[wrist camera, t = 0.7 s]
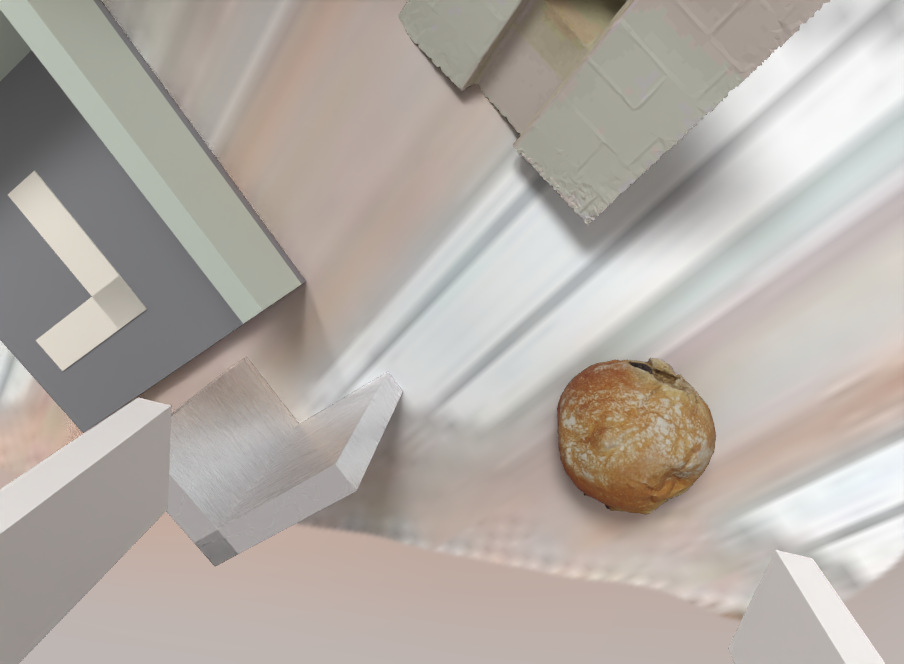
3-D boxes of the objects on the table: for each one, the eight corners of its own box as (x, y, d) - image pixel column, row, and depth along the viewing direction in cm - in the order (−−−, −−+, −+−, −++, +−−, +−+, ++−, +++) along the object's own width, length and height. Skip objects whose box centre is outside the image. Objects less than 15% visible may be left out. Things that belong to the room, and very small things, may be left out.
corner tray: (-126, 183, 40) (-251, 192, 33) (80, -28, 34) (-23, -66, 27) (90, 428, 44) (18, 477, 38) (306, 281, 38) (262, 310, 32)
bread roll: (696, 369, 41) (745, 362, 33) (686, 515, 40) (733, 544, 32) (557, 353, 42) (572, 343, 34) (543, 496, 41) (555, 520, 33)
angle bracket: (295, 453, 43) (215, 566, 32) (228, 368, 41) (117, 456, 30) (402, 391, 40) (356, 490, 29) (335, 298, 38) (258, 365, 27)
